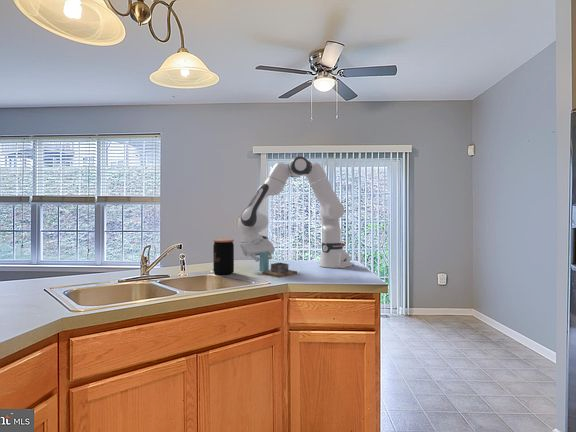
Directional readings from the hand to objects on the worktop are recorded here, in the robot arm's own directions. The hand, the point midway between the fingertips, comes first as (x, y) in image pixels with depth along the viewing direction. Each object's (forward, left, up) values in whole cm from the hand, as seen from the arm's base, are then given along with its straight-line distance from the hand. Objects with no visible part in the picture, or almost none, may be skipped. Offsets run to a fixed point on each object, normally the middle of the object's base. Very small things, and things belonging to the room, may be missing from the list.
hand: (264, 259), depth 185 cm
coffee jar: (+21, -8, -6) cm, 23 cm away
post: (0, 0, -6) cm, 6 cm away
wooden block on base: (0, +13, -6) cm, 14 cm away
